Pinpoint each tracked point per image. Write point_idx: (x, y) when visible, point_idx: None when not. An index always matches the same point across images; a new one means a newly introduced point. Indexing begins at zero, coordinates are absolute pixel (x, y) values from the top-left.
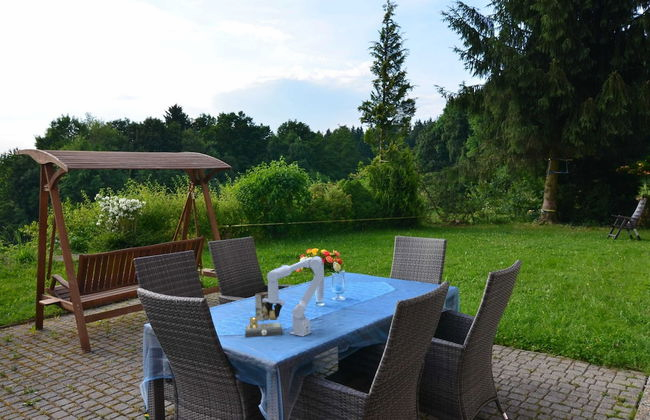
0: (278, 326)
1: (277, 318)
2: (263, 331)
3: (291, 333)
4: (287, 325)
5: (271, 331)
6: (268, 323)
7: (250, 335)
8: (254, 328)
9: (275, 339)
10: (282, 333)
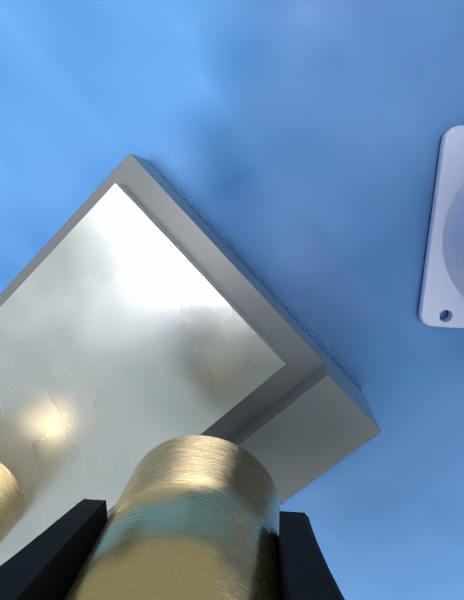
0: (243, 350)
1: (273, 490)
2: None
3: (458, 327)
4: (146, 8)
5: None
6: (16, 298)
7: None
8: None
9: (388, 544)
10: (364, 398)
